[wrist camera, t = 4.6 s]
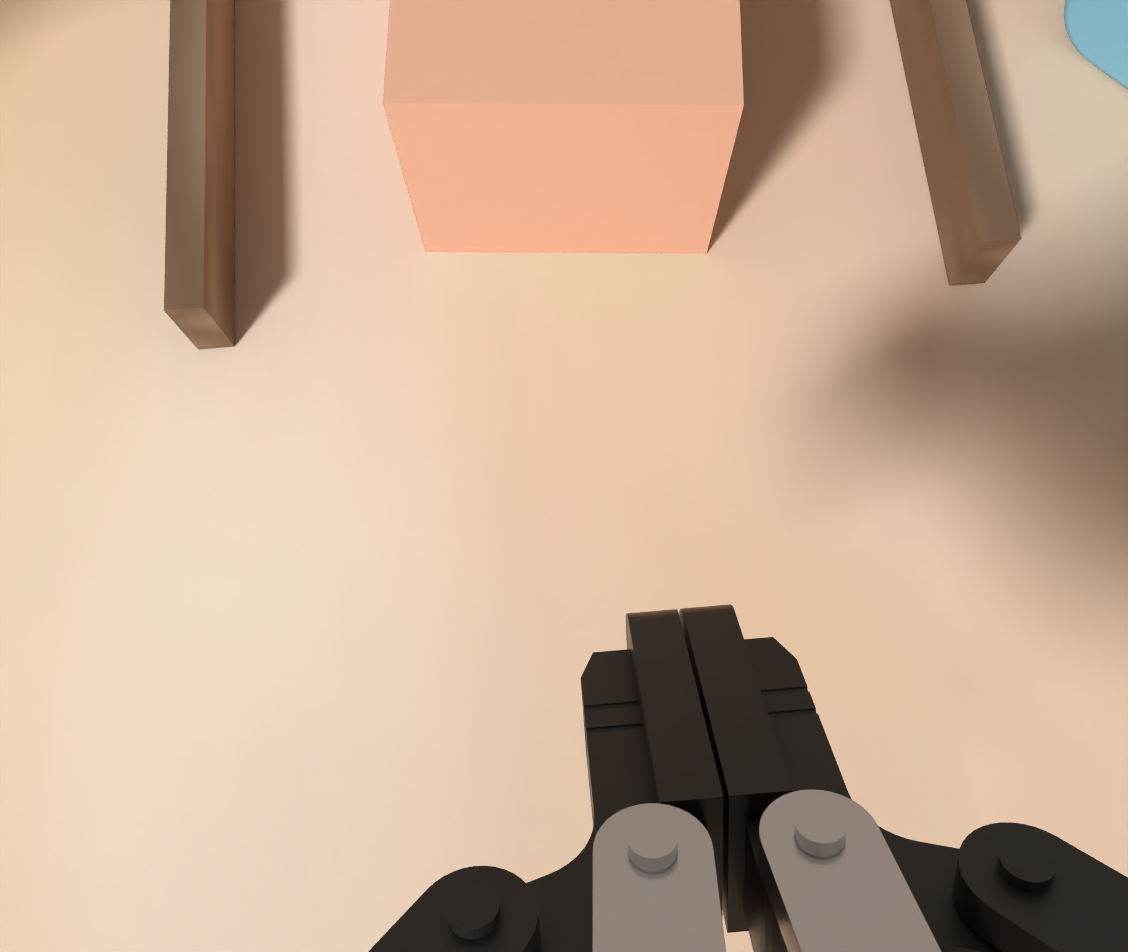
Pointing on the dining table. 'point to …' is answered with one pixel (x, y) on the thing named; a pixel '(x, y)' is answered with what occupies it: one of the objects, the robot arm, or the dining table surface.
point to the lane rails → (206, 155)
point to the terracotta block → (564, 121)
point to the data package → (1100, 34)
